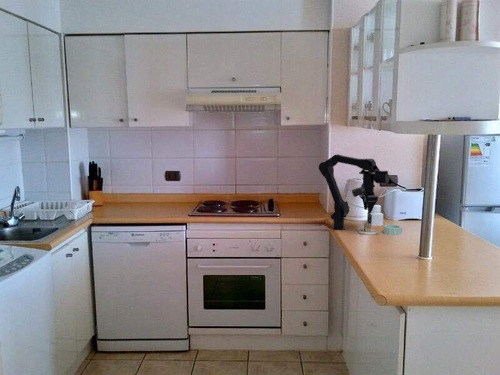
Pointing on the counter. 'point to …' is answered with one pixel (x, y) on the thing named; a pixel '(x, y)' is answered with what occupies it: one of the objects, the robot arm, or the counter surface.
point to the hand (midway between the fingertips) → (367, 211)
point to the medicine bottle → (375, 216)
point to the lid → (367, 230)
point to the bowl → (392, 229)
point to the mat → (365, 234)
